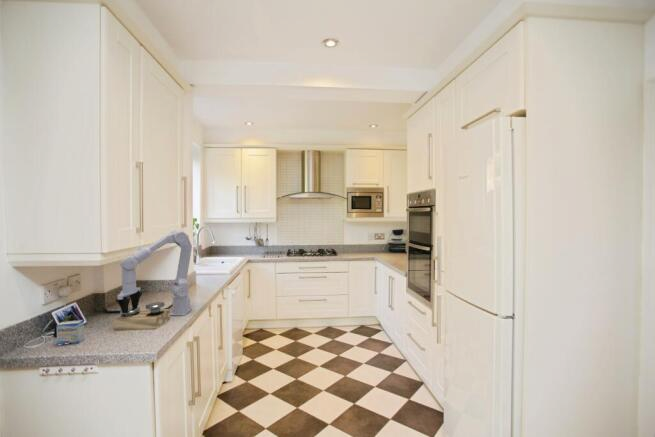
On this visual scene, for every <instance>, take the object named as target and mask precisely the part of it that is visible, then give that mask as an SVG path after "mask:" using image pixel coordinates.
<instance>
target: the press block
mask: <svg viewBox="0 0 655 437" xmlns="http://www.w3.org/2000/svg"><path fill="white" fill-rule="evenodd" d="M170 314H171V313H170V308H162V309H161V308H160V314H159V315H151V310H150V309H140V311H139V312H137V313H135V315H133V316H125V315H121V314H120V315H119V316H117V317H115V318H114V319H113V327H114V328H113V330H114V331H126V330H127V331H128V330H132V331H134V330H135V331H136V330H156V329H157V327H158V328H160V327H161V326H162V325H163V324H165V323H166V322H167V321H169V320H170V316H171V315H170ZM160 325H161V326H160Z"/></svg>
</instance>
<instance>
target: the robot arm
mask: <svg viewBox="0 0 655 437" xmlns="http://www.w3.org/2000/svg"><path fill="white" fill-rule="evenodd" d="M166 244H176V245H177V247H179V248H180V252H179V253H180V254H179V260H178V265H177V271H176V277H175V279H174V280H173V284H172V285H171V287H170V292H171V293H172V294H173V295H172V312H171V313H170V316H185V315H187V314H188V313H189V312H191V311H192V310H193V308H191V298H190V296H189V291H190V290H189V285H188V284H189V282H188V273H189V267H190V260H191V256H192V250H193V249H192V248H193V245H192V244H191V241H190V238H189V235H188V234H187V233H186V232H185V231H183V230H172V231H171V232H169V233H166V234H164V236H161V237H160V238H159V239H157V240H156V241H155V242H153V243H152V244H149V246H147V247H146V246H143V247H139V248H138V249H137V250H136V251H134V252H133V253H132V254H133V255H131V257H129V256H127V257H128V258H125V257H124V259H123V258H122V259H121V261H120V263H119V265H120V267H121V284H122V285H121V288H122V290H121V291H120V292H119V294H117V295H116V297H117V298H116V299H115V301H116V302H117V304H118V306H119V307H120V311H121V310H122V313H127V312H128V308H129V305H130V301H131V308H132V307H133V308H137V307H138V306H139V302H140V299H141V297H142V294H143V291H141V288H142V287H141V286H140V287H139V286H138V287H137V272H136V268H137V266H138V265H140V264H141V263H143V262H144V261H145V260H147V259H148V258H150V257H151V256H152V253H154V252H155V251H157V250H158V249H160V248H162V247H164V246H165V245H166ZM134 255H135V256H134Z"/></svg>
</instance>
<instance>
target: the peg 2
mask: <svg viewBox="0 0 655 437" xmlns="http://www.w3.org/2000/svg"><path fill="white" fill-rule="evenodd" d="M163 307H165V302H163V301H156V302H150V303H148V304H145V310H151V315H159V314H160V309H161V308H163Z"/></svg>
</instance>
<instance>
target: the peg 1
mask: <svg viewBox="0 0 655 437" xmlns="http://www.w3.org/2000/svg"><path fill="white" fill-rule="evenodd" d="M140 310H141V308H140V307H137V308H133V307H132V306H131V307H128V312H127V313H122V310H121V309H120V311H119V314H120V316H121V315H125V316H133V315H135V313H137V312H139V311H140Z"/></svg>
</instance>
